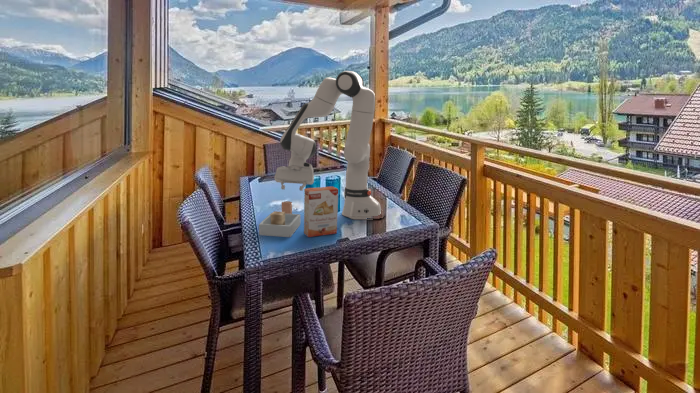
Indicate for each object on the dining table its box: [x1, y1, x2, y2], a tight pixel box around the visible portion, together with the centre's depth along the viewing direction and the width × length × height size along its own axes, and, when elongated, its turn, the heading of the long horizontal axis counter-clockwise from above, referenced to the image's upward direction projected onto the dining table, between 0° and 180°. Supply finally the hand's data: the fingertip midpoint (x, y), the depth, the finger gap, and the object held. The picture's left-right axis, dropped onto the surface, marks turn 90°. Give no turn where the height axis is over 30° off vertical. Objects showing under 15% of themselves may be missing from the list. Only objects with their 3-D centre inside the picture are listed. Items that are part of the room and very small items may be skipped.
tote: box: [258, 212, 301, 238], centre depth 184 cm, size 14×18×5 cm
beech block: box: [270, 210, 285, 225], centre depth 179 cm, size 5×5×8 cm
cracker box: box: [303, 186, 339, 238], centre depth 178 cm, size 14×6×21 cm, turn 117°
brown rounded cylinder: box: [281, 200, 293, 214], centre depth 197 cm, size 5×5×9 cm
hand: (291, 189), depth 204 cm, fingers open, 8 cm apart
